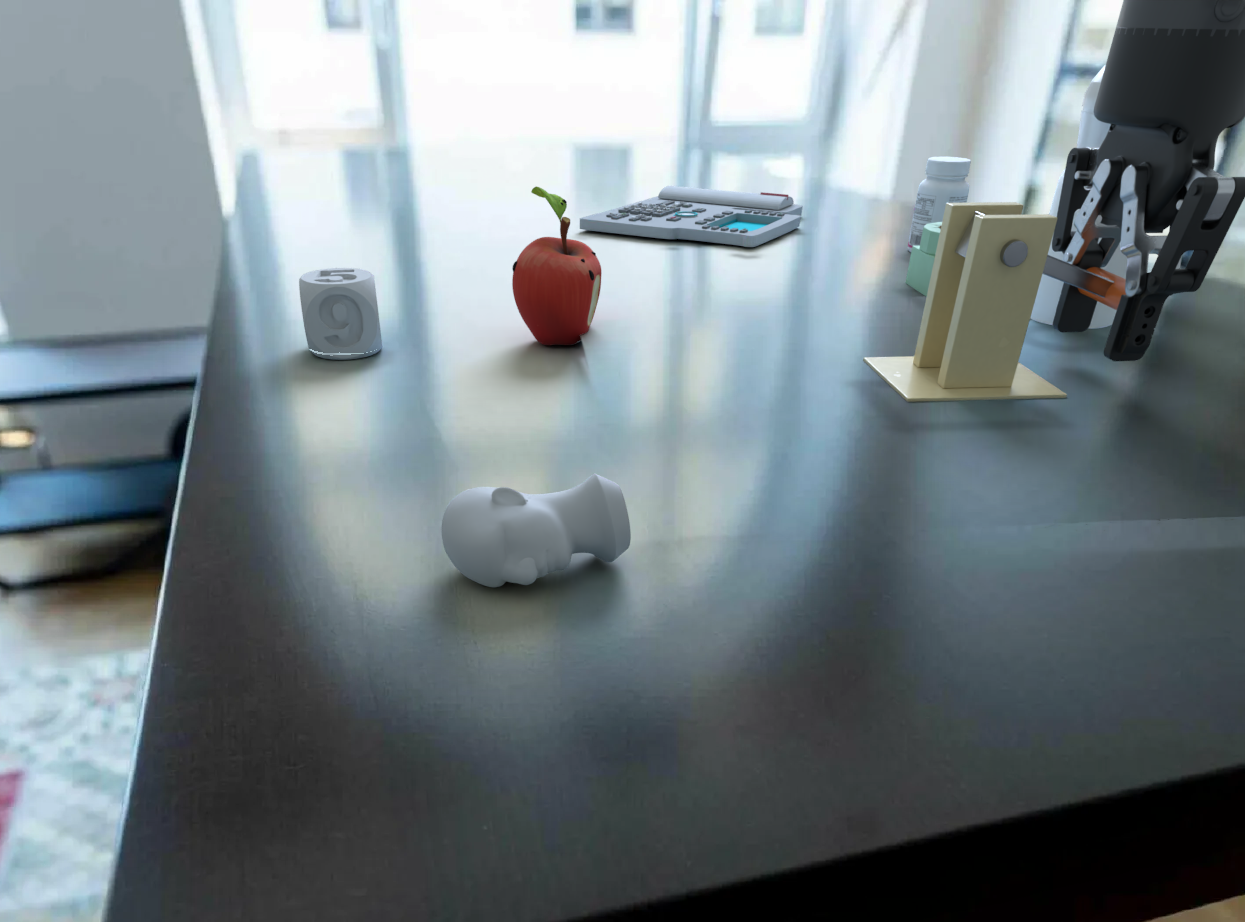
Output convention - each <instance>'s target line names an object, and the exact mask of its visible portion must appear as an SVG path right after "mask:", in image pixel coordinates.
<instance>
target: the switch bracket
mask: <svg viewBox="0 0 1245 922" xmlns="http://www.w3.org/2000/svg"><path fill="white" fill-rule="evenodd" d="M1023 209H1024V204H1023V203H1020V202H1016V201H988V202H987V201H985V202H984V201H983V202H982V201H980V202H979V201H978V202H977V201H976V202H975V201H973V202H970V201H969V202H967V203H946V206H945V211H944V216H943V221H942V225H941V230H940V235H939V240H938V245H937V249H936V254H935V259H934V264H933V269H932V273H931V278H930V283H929V288H928V293H927V296H925V297H926V298H925V302H924V308H923V313H922V318H921V322H920V326H919V331H918V337H917V340H916V345H915V351H914V354H913V356H912V355H911V356H864V357H863V358H862V361H863V362H864V363H865V364H866V365H867V366H868V367H869V368H871V369H872V370H873V371H874V372H875V373H876V375H878V376H879V377H880V378H881V379H882V380H883V381H885V383H887V384H888V385H889V386H890V387H891V388H892V389H893V390H894V391H895V392H896V393H897V394H898V395H899V396H900V397H902V398H903V399H904V400H905V401H906V402H908V403H909V402H911V403H913V402H915V403H916V402H949V401H985V400H988V401H990V400H991V401H992V400H993V401H994V400H1029V399H1061V398H1062V399H1064V398H1065V399H1067V397H1068V394H1067V393H1066V392H1064V391H1063V390H1061V389H1060V388H1058V387H1057V386H1055V385H1054V384H1052V383H1050V382H1049V381H1047V380H1046V379H1045V378H1043V377H1042V376H1040V375H1039V374H1038V373H1036V372H1035V371H1032V370H1031V369H1029V368H1028V367H1027V366H1025V365H1024V364H1022V363H1021V362H1019V360H1020V357H1021V354H1022V350H1023V348H1024V347H1023V346H1024V343H1025V339H1026V336H1027V332H1028V328H1029V325H1030V321H1031V319H1030V317H1031V314H1032V310H1033V306H1034V303H1035V299H1036V295H1037V292H1038V288H1039V284H1040V281H1041V277H1042V273H1043V270H1044V266H1045V262H1046V259H1047V255H1048V251H1049V248H1050V244H1051V240H1052V237H1053V233H1054V229H1055V226H1056V222H1057V217H1055V216H1052V215H1049V213H1048V214H1047V213H1046V214H1045V213H1041V214H1022V213H1023ZM976 211H977V212H980V213H982V214H985V215H975V218H974V222H973V227H972V231H971V236H970V240H969V245H968V249H967V253H966V258H964V257H962V256H960V255H958V254H957V253H955V250H956V248H957V246H958V244H959V242H960V240H961V238H962V236H963V234H964V232H965V230H966V228H967V227H968V225H969V223H970V221H971V219H972V217H973V215H974V213H975V212H976Z"/></svg>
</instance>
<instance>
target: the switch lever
mask: <svg viewBox="0 0 1245 922" xmlns="http://www.w3.org/2000/svg"><path fill="white" fill-rule="evenodd" d="M975 215H985V214H982V213H980V212H977V211H976V212H975V213H974V215H973V217H972V219H971V221H970V223H969V225H968V227H967V228H966V230H965V232H964V234H963V236H962V238H961V240H960V242H959V244H958V246H957V248H956V250H955V253H957V254H958V255H960V256H962V257H964V258H966V253H967V249H968V245H969V240H970V236H971V231H972V227H973V222H974V218H975ZM1042 274H1044V275H1047V276H1049V277H1052V278H1054V279H1057V280H1060V281H1062V282H1065V283H1067V284H1070V285H1072V286H1075V287H1077V288H1078V290H1079V292H1080V293H1082V294H1084V295H1086V296H1088V297H1090V298H1092V299H1094V300H1096V301H1098V302H1100V303H1102V304H1104V305H1107V306H1109V307H1111V308H1113V309H1115V310H1117V308H1118V305H1119V302H1120V299H1121V296H1122V295H1126V292H1125V282H1126V279H1124V278H1122V277H1120V276H1117V275H1115V274H1113V273H1110V272H1108V271H1105V270H1103V269H1101V268H1098V267H1091V268H1089V269H1087V270H1085V269H1082V268H1080V267H1077V266H1075V265H1072V264H1070V263H1067V262H1065V261H1062V260H1060V259H1057V258H1055V257H1052V256H1050V255H1047V259H1046V262H1045V266H1044V270H1043V273H1042Z"/></svg>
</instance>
